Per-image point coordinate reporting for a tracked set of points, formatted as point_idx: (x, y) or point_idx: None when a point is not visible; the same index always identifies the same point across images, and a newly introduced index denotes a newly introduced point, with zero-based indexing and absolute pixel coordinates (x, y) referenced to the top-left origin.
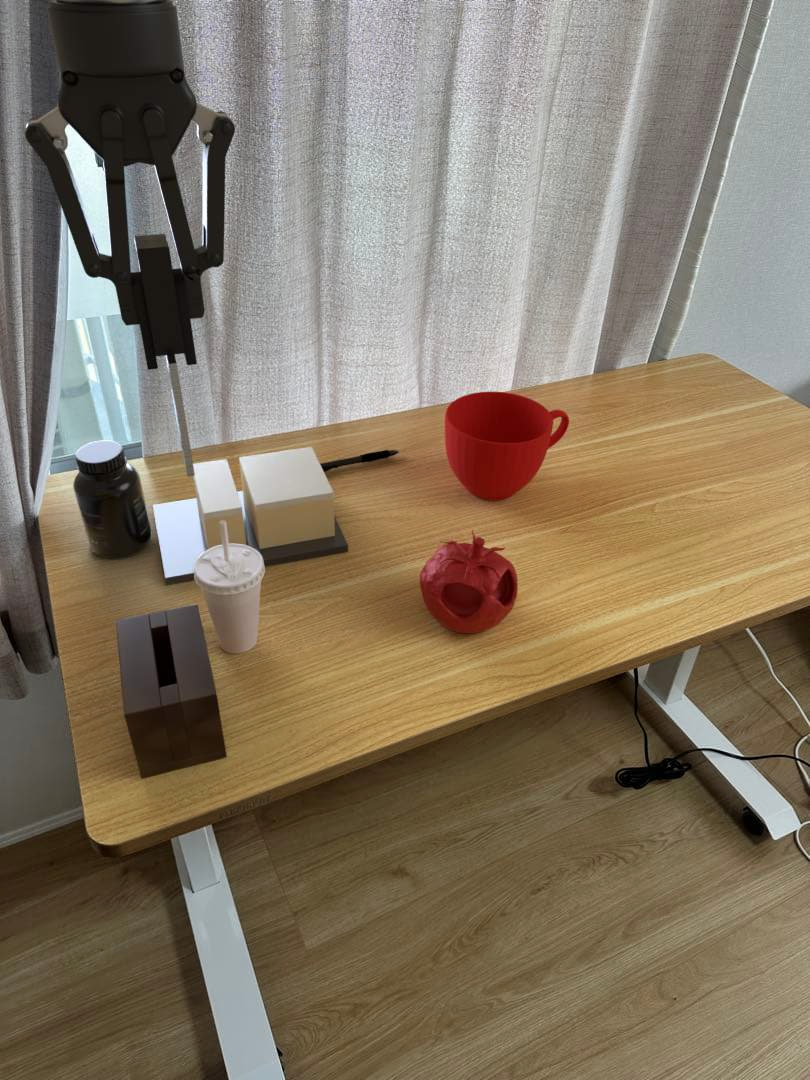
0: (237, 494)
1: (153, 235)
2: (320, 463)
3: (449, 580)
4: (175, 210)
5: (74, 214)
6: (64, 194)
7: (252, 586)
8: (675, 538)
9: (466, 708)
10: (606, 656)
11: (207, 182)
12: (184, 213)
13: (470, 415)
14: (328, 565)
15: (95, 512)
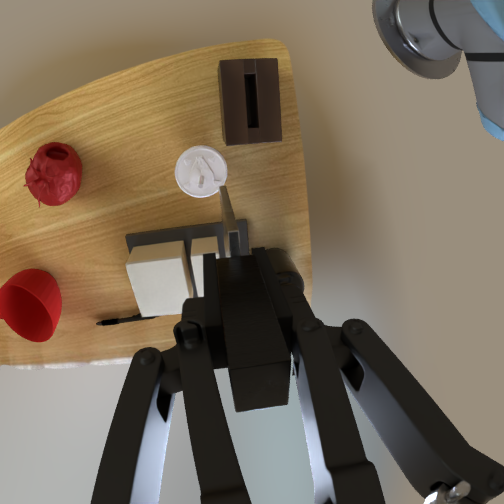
0: (193, 271)
1: (256, 407)
2: (143, 319)
3: (58, 161)
4: (210, 433)
5: (408, 391)
6: (431, 416)
7: (185, 151)
8: None
9: (79, 90)
10: (7, 129)
11: (132, 482)
12: (191, 428)
13: (46, 330)
14: (139, 222)
15: (290, 266)
